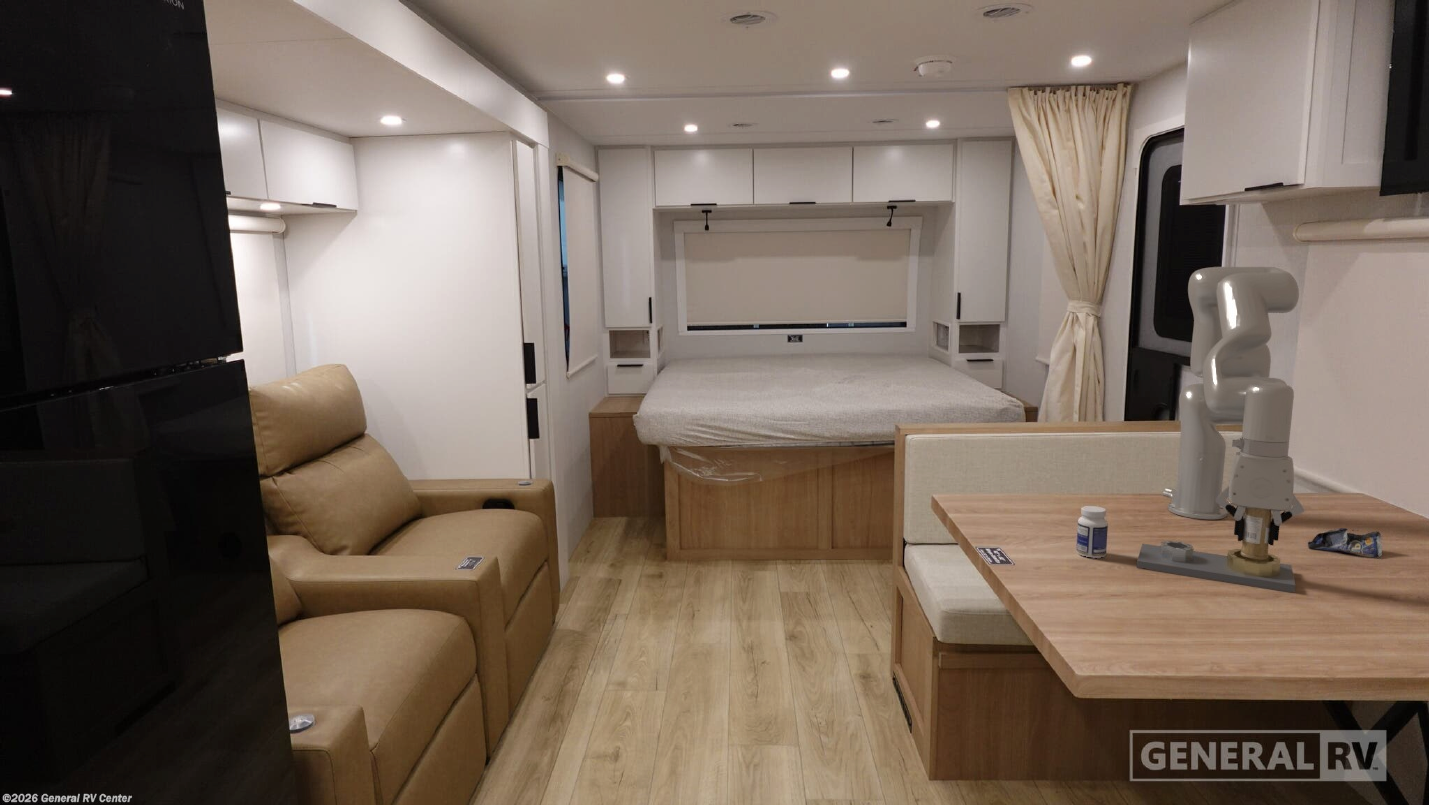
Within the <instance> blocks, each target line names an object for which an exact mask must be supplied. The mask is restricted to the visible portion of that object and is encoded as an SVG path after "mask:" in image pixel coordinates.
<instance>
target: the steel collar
mask: <svg viewBox="0 0 1429 805" xmlns="http://www.w3.org/2000/svg"><path fill="white" fill-rule="evenodd" d="M1159 546H1160V555H1161V557H1162V558H1164V559H1167V560H1170V561H1176V562H1189V561H1193V551H1195V550H1194V549H1195V548H1194V547H1193V545H1192V544H1190V543H1187V542H1183V541H1179V540H1165V541H1160V545H1159Z"/></svg>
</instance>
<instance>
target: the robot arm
mask: <svg viewBox="0 0 1429 805" xmlns="http://www.w3.org/2000/svg"><path fill="white" fill-rule="evenodd" d="M1187 285H1188V286H1187V293H1188V294H1187V295H1188V299H1189V304H1190V307H1191V310H1192V314H1193V320H1194V321H1193V331H1192V339H1191V350H1190V361H1189V362H1190V370H1191V372H1192V374H1193V375H1194V376H1196V377H1198V378H1201V379H1202V383H1195V384H1194V383H1193V384H1190V385H1187V386H1185V387H1184V388H1183V389H1182V390H1181V392H1180V393H1179V398H1178V405H1179V416H1180V418H1179V419H1180V439H1179V452H1178V453H1179V454H1178V464H1177V465H1178V466H1177V476H1176V478H1177V479H1176V489H1174V488H1170V487H1166V488H1165V489H1164V491H1163V492H1162V497H1165V498H1170V499H1171V501H1170V502H1169V503H1168V504H1167V510H1168V511H1169V512H1171V513H1172V514H1175V515H1179V516H1182V517H1185V518H1191V519H1199V520H1222V519H1225V518H1226V517H1228V513H1229V514H1230V515H1231V516H1232V517H1233V518H1234V530H1233V535H1234V536H1237V541H1238V542H1242V540H1243V529H1244V513H1245V508H1246V507H1247V508H1255V509H1264V510H1271V513H1272V517H1273V518H1271V525H1270V536H1269V544H1268V545H1269V546H1274V543H1275V541H1277V542H1278V541H1279V536H1280V535H1279V534H1280V526H1281V525H1282V524H1283V523H1285V522H1286V521H1288V520H1289V519H1292V517H1295V516H1298V515H1301V514H1303V513H1304V512H1305V508H1304V506H1303V505H1302V503H1301V502H1300V500H1299V499H1298V497H1297V496H1296V495H1295V494H1294V488H1295V486H1294V484H1295V481H1294V480H1295V468H1294V461H1293V458H1292V457H1291V456H1288V455H1289V448H1290V439H1291V438H1290V437H1291V427H1292V419H1293V417H1292V416H1293V408H1294V398H1295V396H1294V395H1295V391H1294V389H1293V387H1291V386H1290V385H1288V384H1287V383H1286V381H1285V380H1283V379H1281V378H1276V377H1270V373H1271V363H1272V361H1271V352H1270V348H1269V346H1268V343H1269V342H1270V340H1271V338H1272V328H1271V323H1270V317H1269V314H1284V313H1285V314H1287V313H1289V312H1291V311H1293V310H1294V309H1295V308H1296V307H1297V304H1298V301H1299V296H1300V292H1299V291H1300V290H1299V285H1298V282H1297V280H1296V278H1295V277H1294V276H1293V275H1292V273H1290V272H1288V271H1285V270H1284V269H1281V268H1278V267H1275V266H1274V267H1273V266H1213V267H1205V268H1200V269H1197V270H1195V271H1194V272H1192V273H1191V275H1190V277H1189V280H1188V284H1187ZM1216 425H1231V426H1232V425H1234V426H1235V425H1236V426H1238V425H1239V426H1242V431H1241V433H1242V434H1241V437H1240V438H1239V439H1232V442H1231V447H1234V448H1237V449H1238V450H1240V451H1237V452H1236V453H1235V455H1234V458H1233V461H1232V466H1231V471H1230V475H1229V476H1230V477H1229V484H1228V485H1227V487H1225V489H1224V490H1223V483H1224V482H1223V481H1224V474H1225V473H1224V471H1225V462H1226V461H1225V458H1226V450H1227V448H1226V447H1227V446H1226V445H1227V444H1226V441H1225V438H1224V436H1223V435H1222V434H1221V433H1220V432H1219V431H1218V429H1217V428H1216ZM1227 498H1228V500H1227ZM1235 506H1236V507H1235Z"/></svg>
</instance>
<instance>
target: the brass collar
mask: <svg viewBox="0 0 1429 805" xmlns="http://www.w3.org/2000/svg"><path fill="white" fill-rule="evenodd" d="M1241 551H1242V548H1233V549H1231V550H1230V549H1229V550H1228V551H1227V555H1226V556H1227V565H1226V566H1227V567H1228V568H1230V569H1231V570H1233V571H1236V572H1239V573H1242V574H1245V575H1251V576H1257V577H1273V576H1277V575H1279V569H1280V564H1281V558H1280V557H1278V556H1276V555H1275V554H1272V553H1269V552H1268V559H1266V560H1253V559H1248V558H1245V557H1243V556H1242V555H1241Z"/></svg>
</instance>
